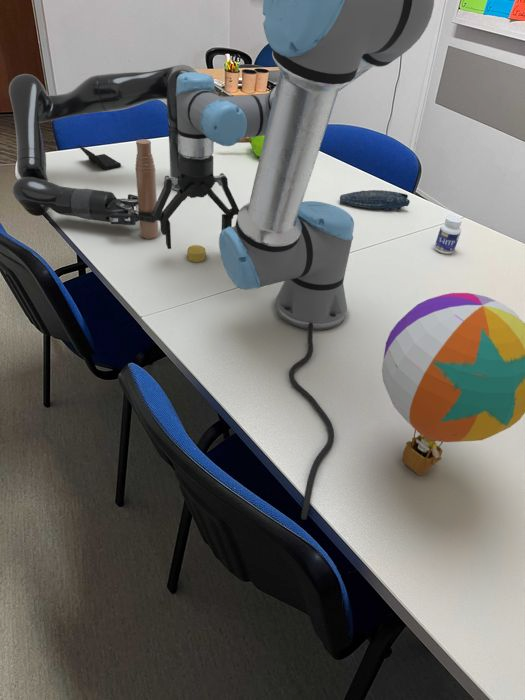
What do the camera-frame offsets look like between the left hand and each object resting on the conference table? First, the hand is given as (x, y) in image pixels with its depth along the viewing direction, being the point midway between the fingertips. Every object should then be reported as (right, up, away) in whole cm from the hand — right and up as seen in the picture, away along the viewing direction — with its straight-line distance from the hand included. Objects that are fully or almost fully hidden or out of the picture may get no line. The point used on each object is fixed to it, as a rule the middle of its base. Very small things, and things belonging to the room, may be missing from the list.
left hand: (158, 214), depth 131 cm
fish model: (+60, +10, +29) cm, 68 cm away
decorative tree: (+25, +37, +59) cm, 74 cm away
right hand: (+10, -9, -6) cm, 15 cm away
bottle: (-3, -4, +4) cm, 7 cm away
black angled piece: (-27, +27, +40) cm, 55 cm away
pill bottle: (+75, -7, +10) cm, 76 cm away
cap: (+10, -10, -5) cm, 15 cm away
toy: (+50, -52, -49) cm, 88 cm away
